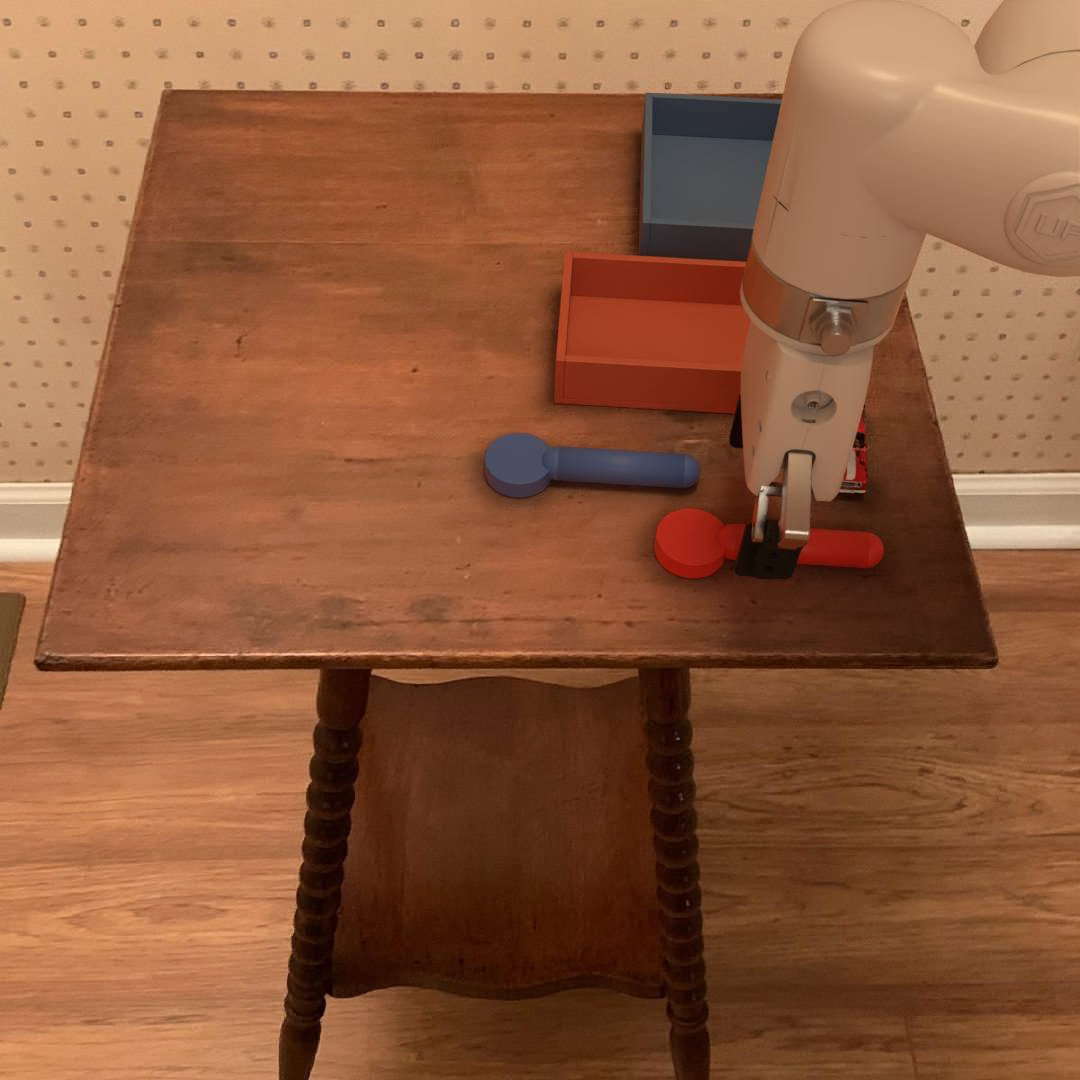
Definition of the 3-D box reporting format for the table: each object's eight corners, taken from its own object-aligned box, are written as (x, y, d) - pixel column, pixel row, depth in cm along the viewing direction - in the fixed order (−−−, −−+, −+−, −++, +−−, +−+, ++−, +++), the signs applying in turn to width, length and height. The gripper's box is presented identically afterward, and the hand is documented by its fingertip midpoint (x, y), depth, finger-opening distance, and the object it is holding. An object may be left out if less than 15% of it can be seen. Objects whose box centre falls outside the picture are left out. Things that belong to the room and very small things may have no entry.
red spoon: (875, 533, 74) (883, 511, 73) (882, 591, 72) (892, 569, 70) (654, 520, 75) (657, 497, 73) (653, 576, 72) (657, 554, 70)
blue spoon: (697, 457, 78) (701, 435, 76) (698, 509, 75) (703, 486, 74) (488, 445, 78) (487, 422, 77) (481, 496, 76) (481, 473, 74)
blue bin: (785, 142, 100) (794, 99, 97) (799, 275, 90) (810, 231, 87) (641, 135, 101) (645, 92, 97) (638, 266, 90) (642, 222, 87)
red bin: (796, 308, 87) (807, 264, 84) (807, 418, 80) (819, 375, 77) (563, 294, 88) (564, 251, 85) (554, 403, 81) (555, 360, 78)
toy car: (812, 496, 76) (822, 463, 74) (809, 407, 81) (819, 373, 79) (869, 502, 76) (881, 469, 73) (862, 412, 81) (874, 379, 78)
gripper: (927, 416, 51) (834, 635, 65) (883, 174, 62) (811, 405, 75) (753, 403, 51) (696, 624, 65) (738, 163, 62) (692, 397, 75)
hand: (758, 506), depth 70 cm, fingers open, 9 cm apart
